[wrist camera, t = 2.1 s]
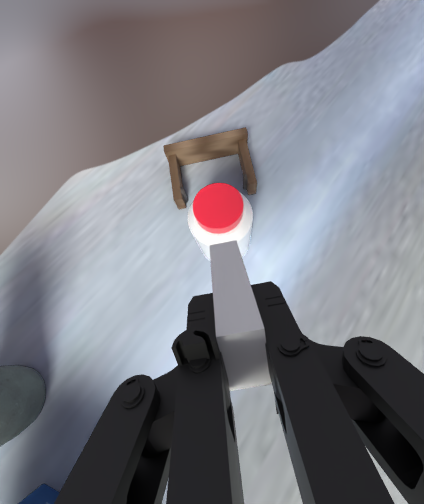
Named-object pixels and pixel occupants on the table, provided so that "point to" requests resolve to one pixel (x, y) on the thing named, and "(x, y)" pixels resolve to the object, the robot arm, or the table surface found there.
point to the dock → (209, 158)
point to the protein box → (41, 496)
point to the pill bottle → (220, 217)
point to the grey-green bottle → (19, 399)
